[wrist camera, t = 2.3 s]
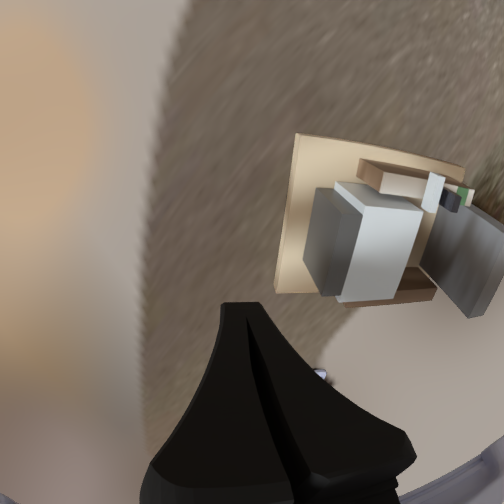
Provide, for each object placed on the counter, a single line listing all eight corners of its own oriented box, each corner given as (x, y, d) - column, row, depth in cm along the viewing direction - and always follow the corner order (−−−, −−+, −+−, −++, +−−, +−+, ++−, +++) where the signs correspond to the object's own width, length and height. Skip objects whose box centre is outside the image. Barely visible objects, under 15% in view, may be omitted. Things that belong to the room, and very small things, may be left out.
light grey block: (378, 265, 22) (404, 297, 18) (301, 265, 20) (319, 303, 17) (407, 158, 18) (445, 177, 14) (322, 143, 16) (353, 160, 13)
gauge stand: (420, 280, 25) (469, 338, 18) (273, 285, 23) (301, 369, 16) (457, 164, 20) (530, 204, 13) (295, 132, 17) (355, 165, 10)
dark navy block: (440, 202, 16) (457, 213, 14) (434, 201, 16) (450, 212, 14) (445, 186, 15) (462, 196, 14) (438, 185, 15) (455, 195, 14)
